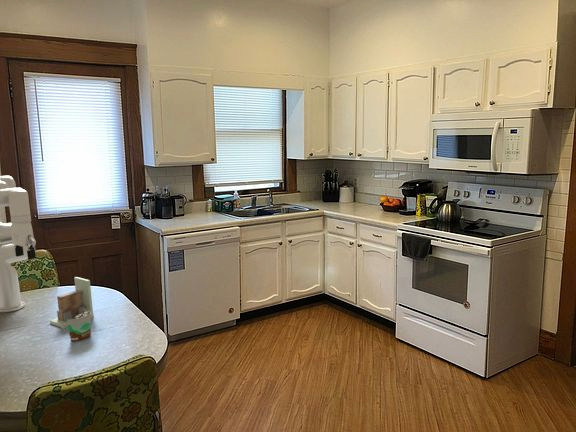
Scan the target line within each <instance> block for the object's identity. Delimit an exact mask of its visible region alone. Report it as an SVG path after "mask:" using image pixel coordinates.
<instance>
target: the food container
mask: <svg viewBox="0 0 576 432" xmlns="http://www.w3.org/2000/svg"><path fill="white" fill-rule="evenodd" d="M92 318H93V317H92V315H91V312H90V311H89V310H87V309H84V311H83V312H82V313H80V314H78V315H76V316H75V317H73V318H72V319H70V320H68V319H67V325H68V327H67V328H68V332H69V333H68V334H69V339H70V342H71V343H75V342H81V341H85V340H87V339H89V338H90V337H91V335H92V334H91V319H92Z"/></svg>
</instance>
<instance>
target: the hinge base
mask: <svg viewBox="0 0 576 432" xmlns="http://www.w3.org/2000/svg"><path fill="white" fill-rule="evenodd" d="M73 279H74V287H75V289H74V290H75V291H76V290H80V291H81V295H82V305H83V306H81V307H79V308H77V309H78V314H80V313H82V312H83V311H84V309H87V310H89V311H90V312H91V315H92V318H95V316H94V309H93V299H92V288H91V280H90V279H86V278H82V277H78V276H75V277H74V278H73ZM56 313H57V317H55V318H53V319H50V320H49V323H50V324H51V325H53V326H55V327H59V328H61V329H66V328H68V325H67V319H68V320H70V319H72V317H71V311H67V312H64V313H63V318H64V321H61V320H60V317H59V309H58V310H56Z"/></svg>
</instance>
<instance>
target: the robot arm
mask: <svg viewBox="0 0 576 432" xmlns="http://www.w3.org/2000/svg"><path fill="white" fill-rule="evenodd" d="M16 186H17V185H16V181H15V180H14V178H13V177H12V176H10V175H0V208H3V207H9V213H10V214H9V215H10V222H5V223H3V222H2V220H1V219H0V313H10V312H15V311H18V310H21V309H23V308H25V306H26V303H25V301H22V300H21V299H22V298H21V290H20V283H19V275H18V270H17V269H16V268H15V267H14V266H12V265H11V264H12V263H18V262H21V261H25V260H28V261H29V260H33V259H34V260H35V259H37V258H36V257H37V255H36V247H37V246H36V244H37V241H36V239H35V236H34V232H33V231H34V230H33V225H32V223H31V222H32V217H31V209H30V200H29V192H28V191H27V190H25V189H23V188H22V187H16Z"/></svg>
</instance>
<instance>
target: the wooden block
mask: <svg viewBox="0 0 576 432" xmlns="http://www.w3.org/2000/svg"><path fill="white" fill-rule="evenodd" d="M56 299H57V306H58V310H59V317H60V320H61V321H64V318H63V313H64V312H67V311H71V317H72V318H73V317H75V316H76V315H78V309H77V308H79V307H81V306H83V305H82V295H81V291H80V290H76V289H75V290H74V291H70V292H68V293H65V294H62V295H57V296H56Z"/></svg>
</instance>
